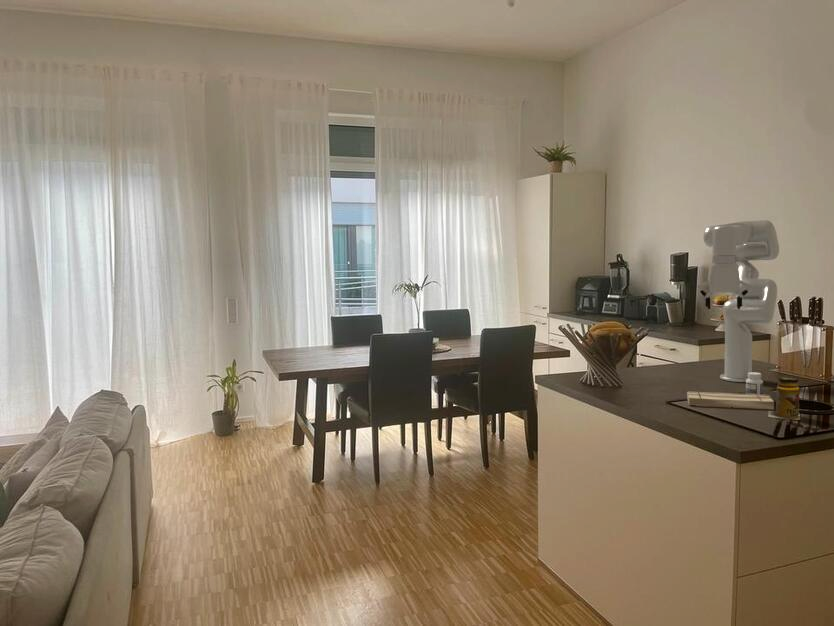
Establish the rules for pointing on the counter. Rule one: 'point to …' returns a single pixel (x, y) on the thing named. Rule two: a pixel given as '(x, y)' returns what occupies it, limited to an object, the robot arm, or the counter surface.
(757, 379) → the pill bottle
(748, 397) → the plank
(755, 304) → the robot arm
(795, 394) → the condiment
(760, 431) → the counter surface
